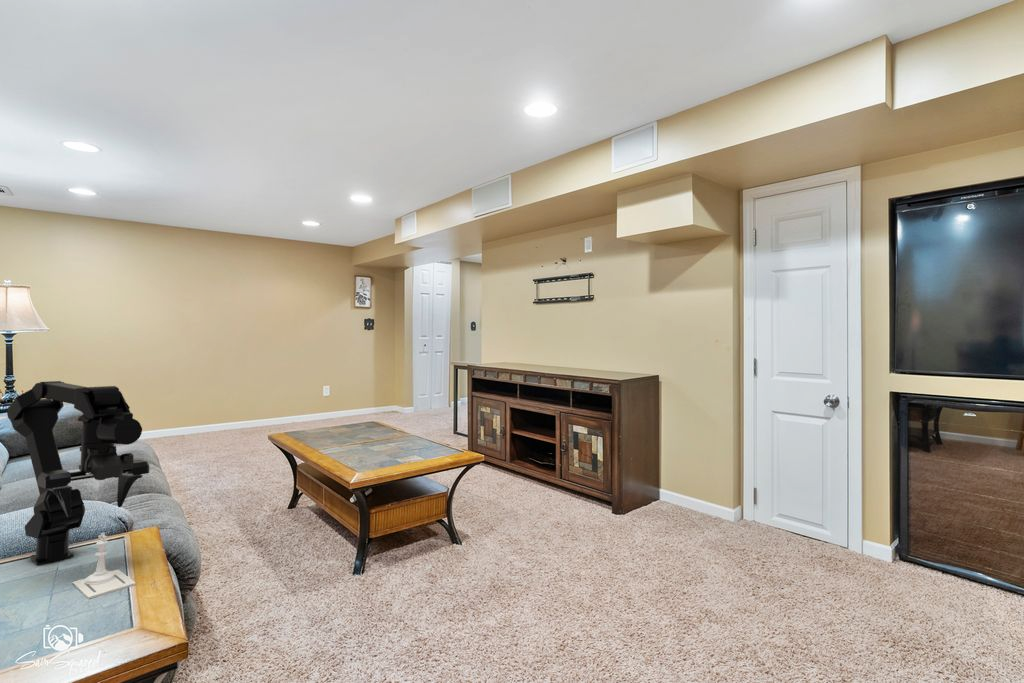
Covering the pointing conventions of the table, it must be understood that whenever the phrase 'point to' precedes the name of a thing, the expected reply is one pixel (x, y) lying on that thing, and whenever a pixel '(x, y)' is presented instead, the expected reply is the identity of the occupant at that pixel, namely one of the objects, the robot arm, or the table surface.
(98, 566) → the chess piece
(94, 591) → the slotted cream plate
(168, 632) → the table surface
